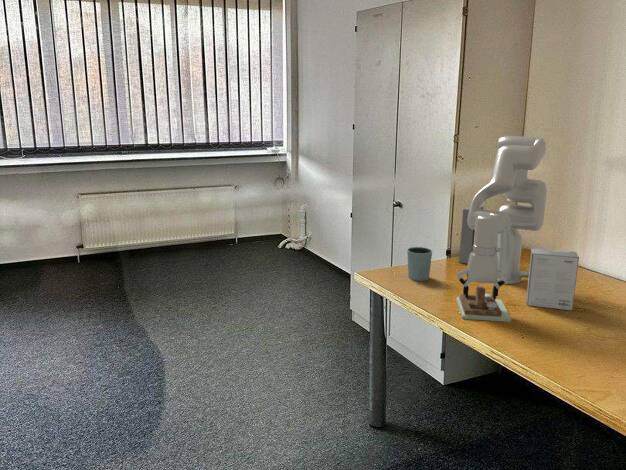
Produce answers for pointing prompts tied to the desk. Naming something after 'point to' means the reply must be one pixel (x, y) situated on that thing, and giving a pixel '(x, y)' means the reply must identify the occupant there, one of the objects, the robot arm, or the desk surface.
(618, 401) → the desk surface
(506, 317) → the board
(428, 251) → the blue-grey cup
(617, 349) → the desk surface
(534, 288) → the hard drive box
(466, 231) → the tall grey labeled box
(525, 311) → the desk surface
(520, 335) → the desk surface
